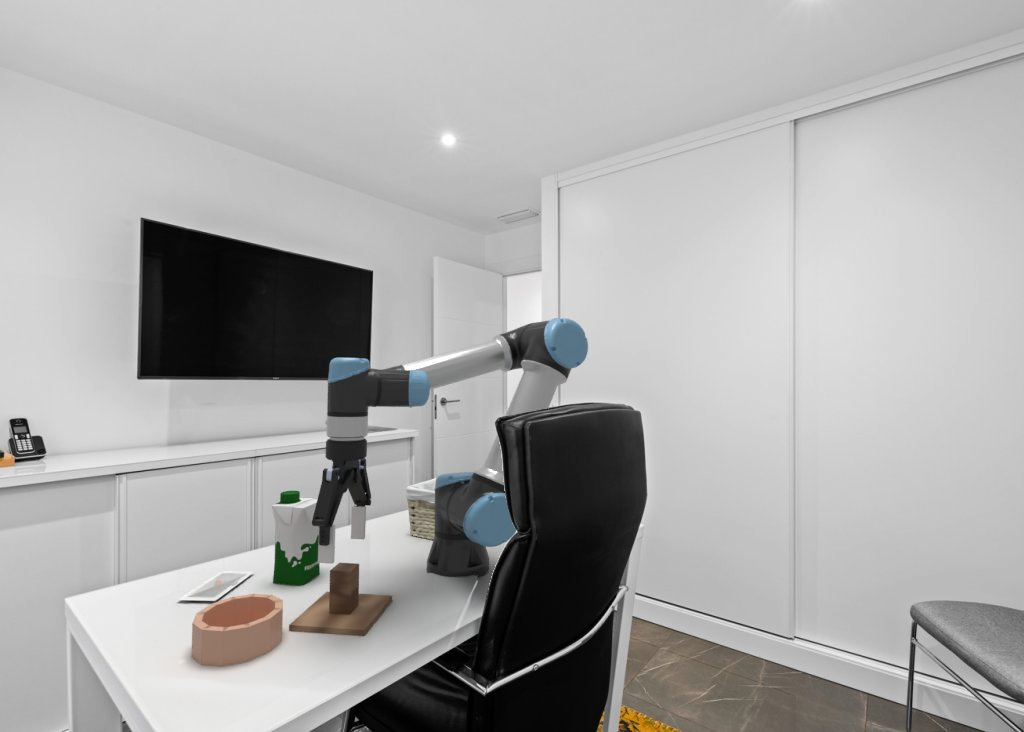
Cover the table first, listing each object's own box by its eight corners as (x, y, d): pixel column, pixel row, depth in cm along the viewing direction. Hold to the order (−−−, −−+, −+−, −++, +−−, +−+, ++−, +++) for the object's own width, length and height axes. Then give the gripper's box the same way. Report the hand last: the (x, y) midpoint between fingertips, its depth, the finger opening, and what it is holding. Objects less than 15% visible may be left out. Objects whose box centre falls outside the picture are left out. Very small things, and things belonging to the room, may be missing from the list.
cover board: (392, 600, 101) (393, 555, 102) (364, 635, 87) (365, 584, 88) (326, 596, 103) (327, 552, 103) (288, 630, 89) (289, 579, 89)
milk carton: (291, 573, 117) (293, 487, 118) (326, 576, 115) (327, 489, 116) (265, 588, 109) (267, 496, 109) (303, 592, 107) (304, 498, 107)
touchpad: (176, 605, 101) (177, 594, 101) (221, 576, 116) (221, 566, 116) (215, 606, 101) (215, 595, 101) (254, 576, 116) (254, 567, 116)
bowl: (297, 631, 91) (297, 596, 91) (250, 675, 77) (251, 633, 78) (229, 627, 92) (229, 592, 92) (172, 668, 79) (173, 627, 79)
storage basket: (449, 546, 138) (449, 492, 138) (402, 537, 145) (403, 486, 145) (491, 523, 159) (492, 477, 159) (449, 517, 166) (449, 472, 167)
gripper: (355, 431, 109) (352, 529, 108) (292, 445, 84) (288, 573, 83) (388, 432, 108) (385, 531, 107) (335, 447, 83) (331, 576, 82)
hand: (343, 549), depth 95 cm, fingers open, 13 cm apart
